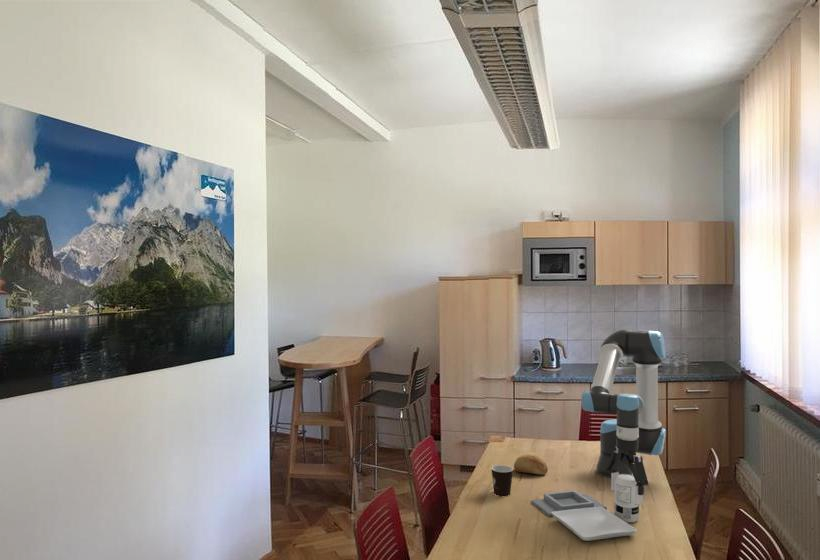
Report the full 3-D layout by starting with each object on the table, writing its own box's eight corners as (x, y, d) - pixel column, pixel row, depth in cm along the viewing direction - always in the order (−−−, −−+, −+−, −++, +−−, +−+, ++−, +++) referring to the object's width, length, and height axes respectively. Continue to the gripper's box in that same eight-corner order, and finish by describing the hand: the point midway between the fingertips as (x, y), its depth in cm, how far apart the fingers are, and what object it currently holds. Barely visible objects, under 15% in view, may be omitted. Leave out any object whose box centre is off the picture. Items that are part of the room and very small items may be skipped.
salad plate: (638, 539, 200) (638, 529, 200) (583, 547, 194) (583, 536, 193) (601, 514, 220) (601, 505, 220) (549, 521, 214) (549, 511, 214)
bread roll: (544, 479, 257) (544, 460, 257) (510, 473, 263) (511, 455, 263) (549, 472, 265) (549, 454, 265) (516, 467, 272) (516, 450, 272)
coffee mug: (512, 498, 234) (512, 473, 234) (490, 496, 236) (490, 471, 236) (513, 487, 246) (513, 463, 246) (492, 486, 247) (492, 462, 247)
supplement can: (610, 514, 219) (611, 473, 219) (632, 513, 220) (632, 473, 220) (620, 523, 211) (620, 481, 211) (642, 523, 212) (643, 480, 212)
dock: (585, 496, 237) (585, 488, 237) (606, 509, 223) (606, 501, 223) (531, 502, 230) (531, 494, 230) (549, 516, 217) (549, 508, 217)
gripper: (597, 429, 226) (597, 486, 226) (641, 447, 202) (640, 510, 202) (615, 428, 228) (614, 484, 228) (659, 446, 204) (659, 508, 204)
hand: (626, 496), depth 215 cm, fingers open, 13 cm apart
